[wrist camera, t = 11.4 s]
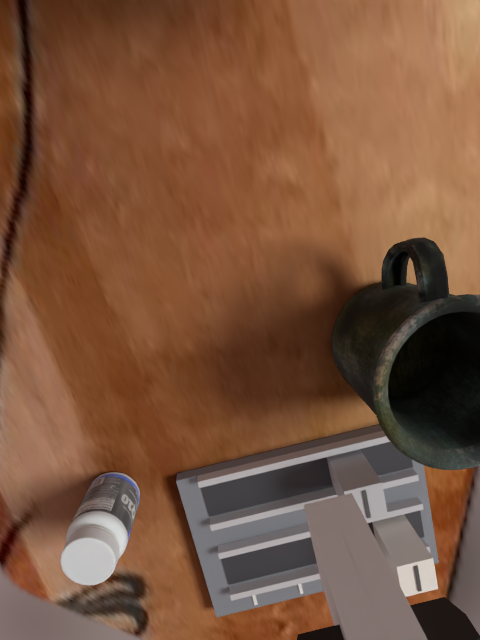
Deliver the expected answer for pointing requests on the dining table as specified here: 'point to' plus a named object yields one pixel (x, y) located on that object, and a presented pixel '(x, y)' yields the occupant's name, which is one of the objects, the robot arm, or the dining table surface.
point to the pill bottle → (100, 529)
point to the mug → (416, 358)
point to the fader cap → (406, 555)
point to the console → (292, 512)
